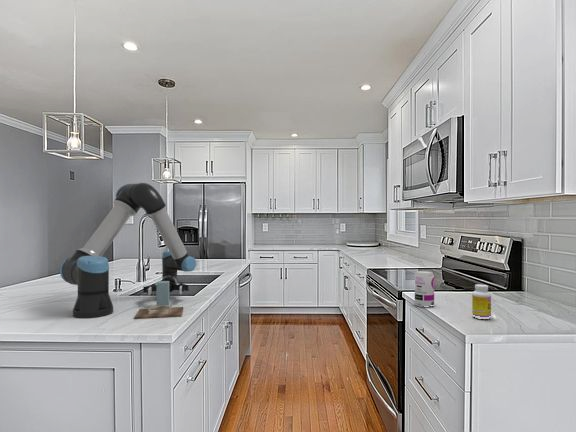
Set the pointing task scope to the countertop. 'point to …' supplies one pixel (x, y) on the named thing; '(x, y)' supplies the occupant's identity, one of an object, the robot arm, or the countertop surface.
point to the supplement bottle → (481, 301)
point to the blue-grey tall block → (162, 293)
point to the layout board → (159, 312)
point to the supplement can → (424, 288)
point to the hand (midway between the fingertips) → (164, 291)
